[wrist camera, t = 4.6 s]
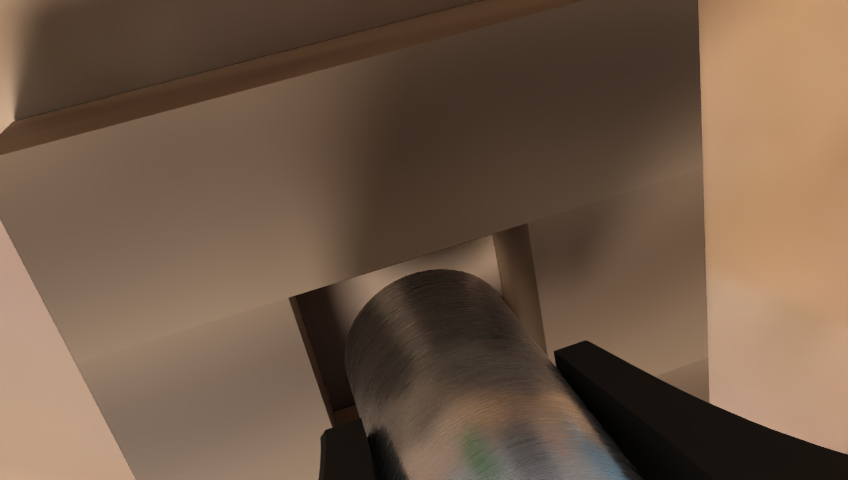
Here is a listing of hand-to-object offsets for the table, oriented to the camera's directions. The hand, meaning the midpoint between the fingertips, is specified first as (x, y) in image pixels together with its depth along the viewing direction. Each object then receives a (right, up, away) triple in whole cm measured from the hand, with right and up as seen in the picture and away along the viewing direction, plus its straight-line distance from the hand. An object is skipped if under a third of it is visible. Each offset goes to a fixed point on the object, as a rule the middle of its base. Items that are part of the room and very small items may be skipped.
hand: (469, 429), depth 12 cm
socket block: (-1, +2, +4) cm, 5 cm away
